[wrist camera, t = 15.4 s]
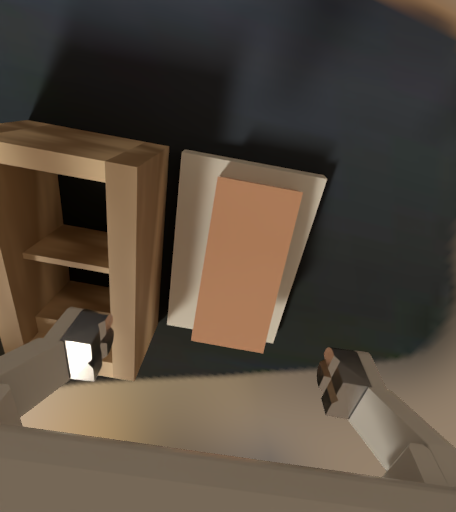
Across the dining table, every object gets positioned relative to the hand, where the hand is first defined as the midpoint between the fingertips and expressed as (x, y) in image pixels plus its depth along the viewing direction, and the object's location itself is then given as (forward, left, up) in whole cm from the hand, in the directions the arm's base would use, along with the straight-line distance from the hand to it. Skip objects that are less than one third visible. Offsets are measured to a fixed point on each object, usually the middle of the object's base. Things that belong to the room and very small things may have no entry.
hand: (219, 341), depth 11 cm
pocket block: (-9, -3, -11) cm, 15 cm away
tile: (+1, -2, -9) cm, 9 cm away
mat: (+1, -3, -11) cm, 12 cm away
